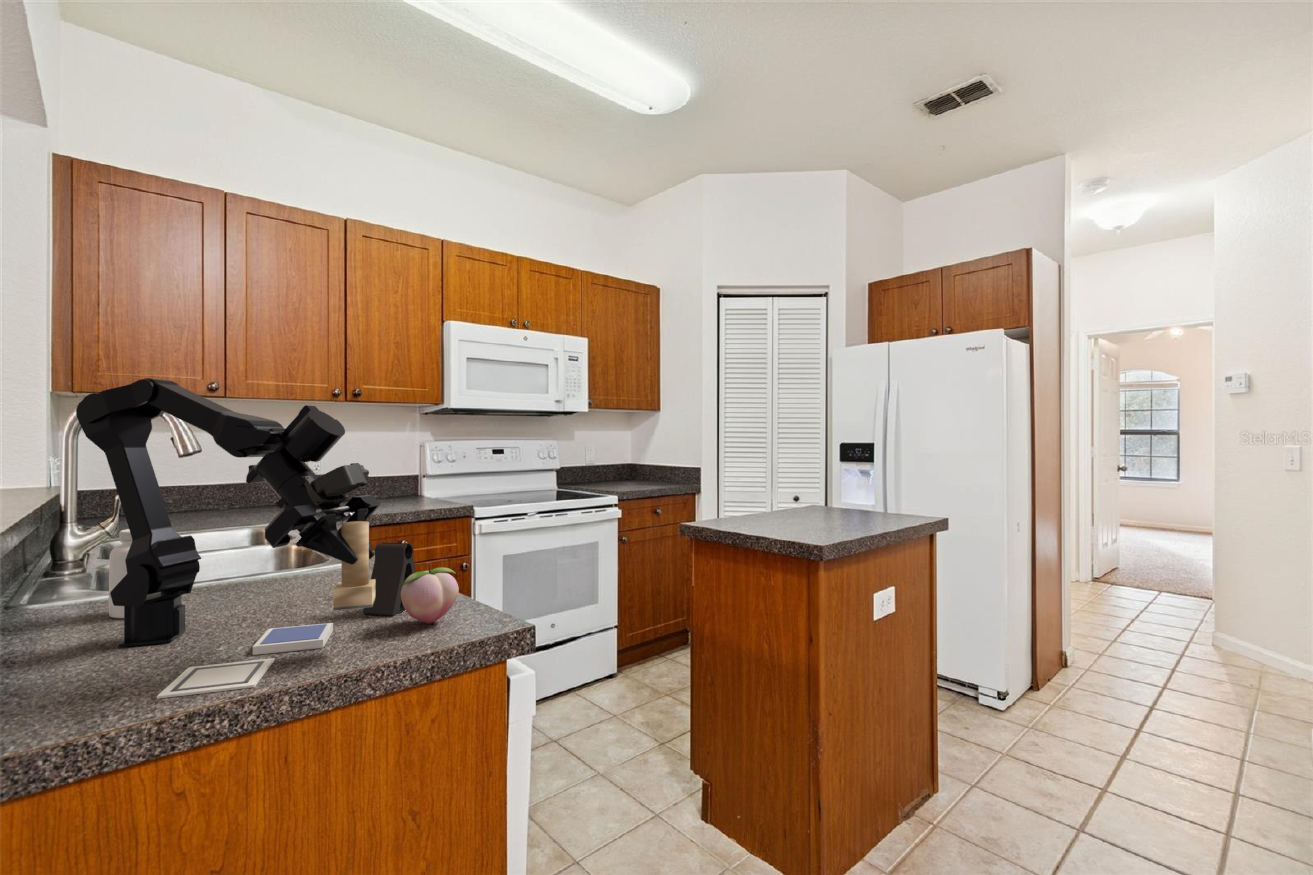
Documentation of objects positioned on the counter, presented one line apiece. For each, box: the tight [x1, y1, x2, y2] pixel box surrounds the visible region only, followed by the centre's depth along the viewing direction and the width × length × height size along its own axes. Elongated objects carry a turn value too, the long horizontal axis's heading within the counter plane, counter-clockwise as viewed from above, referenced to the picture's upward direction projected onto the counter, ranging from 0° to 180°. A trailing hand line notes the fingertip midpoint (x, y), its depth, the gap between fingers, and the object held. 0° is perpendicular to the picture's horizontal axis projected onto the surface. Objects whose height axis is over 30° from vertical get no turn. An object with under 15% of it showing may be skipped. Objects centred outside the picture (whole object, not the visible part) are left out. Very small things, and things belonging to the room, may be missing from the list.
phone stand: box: [362, 542, 417, 617], centre depth 112 cm, size 9×6×12 cm, turn 167°
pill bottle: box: [108, 528, 132, 619], centre depth 109 cm, size 8×8×15 cm
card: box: [156, 657, 276, 700], centre depth 79 cm, size 10×10×1 cm
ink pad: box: [252, 622, 334, 656], centre depth 93 cm, size 9×9×1 cm
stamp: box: [332, 520, 375, 611], centre depth 90 cm, size 5×5×12 cm
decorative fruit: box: [401, 563, 460, 625], centre depth 103 cm, size 9×8×10 cm
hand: (363, 559), depth 90 cm, fingers closed on stamp, 4 cm apart
